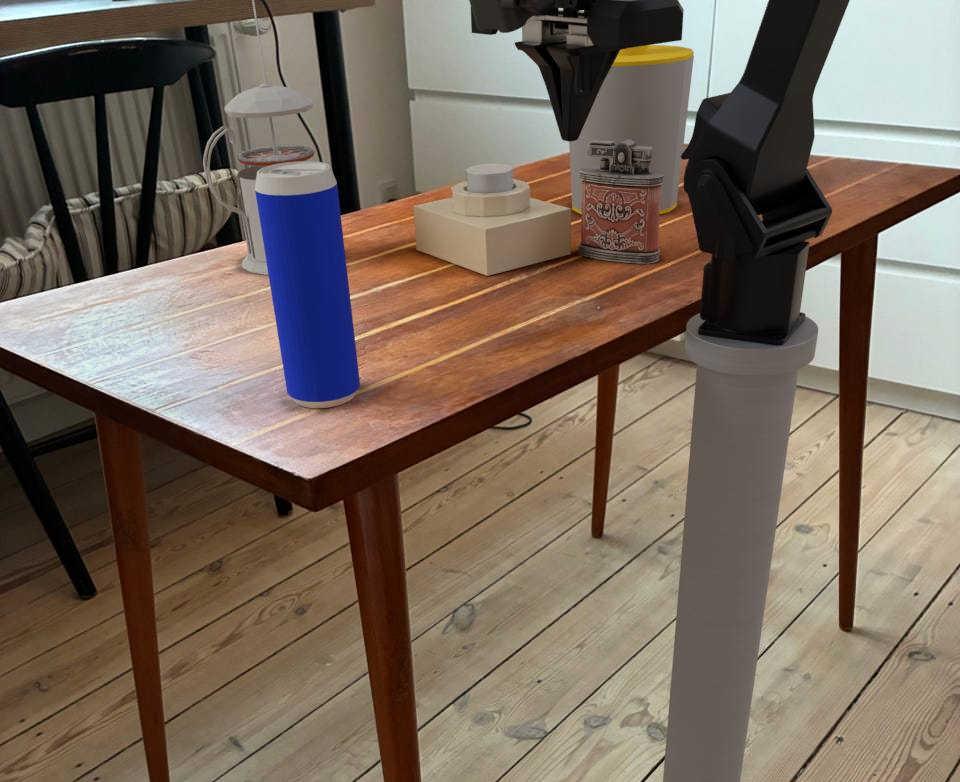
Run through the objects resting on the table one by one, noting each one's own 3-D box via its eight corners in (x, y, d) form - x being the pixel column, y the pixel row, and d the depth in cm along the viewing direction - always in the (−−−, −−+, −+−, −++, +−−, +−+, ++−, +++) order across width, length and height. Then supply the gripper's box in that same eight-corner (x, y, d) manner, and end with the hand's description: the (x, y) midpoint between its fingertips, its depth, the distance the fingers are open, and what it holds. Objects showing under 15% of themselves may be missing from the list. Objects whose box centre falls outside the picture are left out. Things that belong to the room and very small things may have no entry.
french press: (354, 264, 100) (318, -47, 85) (234, 284, 96) (176, -37, 82) (326, 241, 107) (289, -49, 93) (214, 258, 104) (157, -40, 89)
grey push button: (522, 191, 98) (522, 168, 96) (485, 199, 96) (484, 176, 94) (495, 184, 100) (494, 161, 99) (457, 192, 98) (456, 168, 97)
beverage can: (372, 385, 75) (348, 161, 66) (342, 413, 71) (312, 179, 62) (308, 379, 76) (276, 159, 68) (275, 406, 72) (236, 177, 64)
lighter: (665, 256, 98) (672, 140, 92) (649, 266, 95) (656, 147, 90) (589, 246, 101) (591, 134, 95) (572, 255, 99) (573, 141, 93)
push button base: (571, 254, 100) (571, 187, 96) (487, 276, 95) (484, 207, 91) (496, 230, 108) (494, 168, 104) (416, 250, 103) (411, 185, 100)
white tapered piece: (576, 190, 120) (578, -26, 108) (690, 192, 117) (706, -31, 105) (552, 219, 110) (551, -16, 98) (676, 222, 107) (691, -20, 95)
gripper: (407, -89, 77) (423, 140, 86) (568, -94, 65) (567, 174, 74) (525, -96, 82) (528, 121, 91) (696, -102, 70) (680, 150, 79)
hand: (569, 140), depth 84 cm, fingers closed
